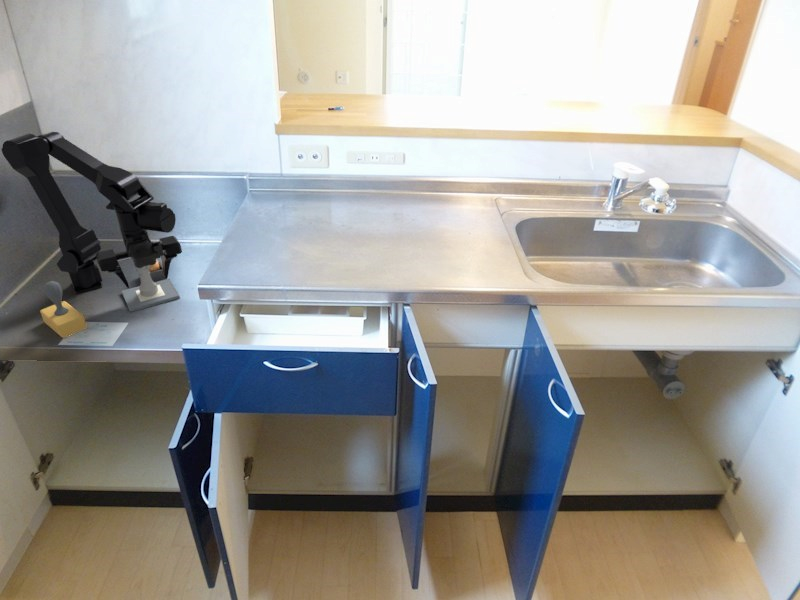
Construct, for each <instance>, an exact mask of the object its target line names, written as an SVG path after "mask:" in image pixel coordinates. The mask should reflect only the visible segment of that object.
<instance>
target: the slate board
mask: <svg viewBox="0 0 800 600" xmlns="http://www.w3.org/2000/svg"><path fill="white" fill-rule="evenodd" d="M154 283H155V284H156V285H157V288H158V292H157V293H156V294H155V295H153V296H148V297H147V296H143V295H141V294H140V290H139V288H140V285H138V286H135V287H131V288H130V287H129V288H126V289H123V290H121V294H122V296H123V298H124V300H125V302H126V305H127V308H128V309H129V312H130V313H131V312H134V311H135V312H136V311H138V310H142V309H145V308H149V307H152V306H156V305H159V304H164V303H167V302H171V301H174V300H179V299H180V298H181V296H180V294H179V292H178V291H177V288H175V285H174V284H173V282H172V281H171V278H167V279H165V280H162V281H158V282H154Z"/></svg>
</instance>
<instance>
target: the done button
mask: <svg viewBox="0 0 800 600" xmlns="http://www.w3.org/2000/svg"><path fill="white" fill-rule="evenodd" d="M158 262H159V260H158V259H156V264H154V265H148V266H149V267H150V269H149V272H154V271H158V270H160V267H159V263H158Z"/></svg>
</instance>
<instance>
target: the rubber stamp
mask: <svg viewBox="0 0 800 600" xmlns="http://www.w3.org/2000/svg"><path fill="white" fill-rule="evenodd" d="M43 290H44V293H45V296H46V297H47V298H48V299H49V300H50V301H51V302H52V303H53V304H52V305H50V306H47V307H44V308H43V309H40V311H39V312H40V314H41V318H42V320H43V322H44V323H45V324H46V325H47V326H48V327H49V328H50V329H52V330H53V331H54V332H55V333H56V334H57V335H58V336H60V337H61V338H63V339H66V338H68V337H70V336H72V335H71V334H73V333H75V332H77V333H79V332H78V331H80V332H82V331H84V330H86V329H88V326H87V322H86V319H85V317H84V315H83V313H81V312H80V311H78V310H77V309H76V308H74V307H73V306H72V305H70V304H69V303H68V302H67V301H65V300H63V288H62V285H61V284H60V283H59V282H57V281H55V280H50V281H48V282H46V283H45V284H44V287H43ZM62 300H63V301H62ZM85 328H86V329H85ZM83 329H84V330H83ZM81 330H82V331H81ZM75 334H76V333H75ZM69 335H70V336H69ZM73 335H74V334H73ZM67 336H68V337H67ZM65 337H66V338H65Z"/></svg>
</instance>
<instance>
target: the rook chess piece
mask: <svg viewBox="0 0 800 600" xmlns="http://www.w3.org/2000/svg"><path fill="white" fill-rule="evenodd" d="M149 269H150V267H149V266H144V267H142V268H137V267H136V270H135V271H136V272H137V273H138V277H139V279H140V285H139V286H140V288H139V290H140V294H141V295H143V296H147V297H148V296H153V295H155V294H156V293H157V292H158V288H157V285H156V284H155V283H154V282H153V281H152V278H151V276H150V272H149Z"/></svg>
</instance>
